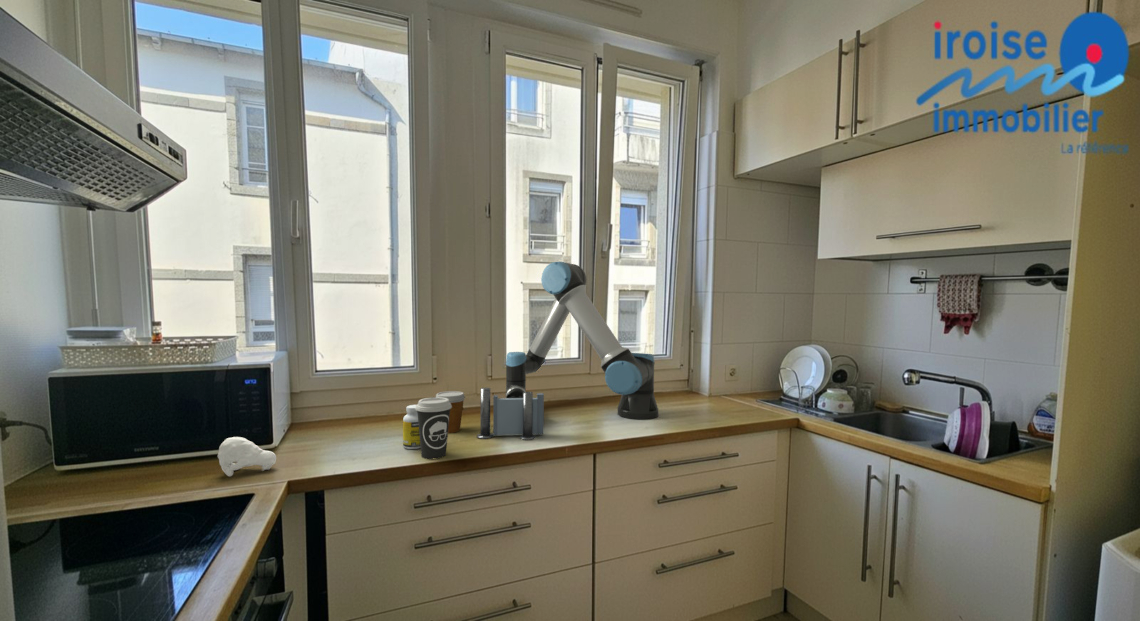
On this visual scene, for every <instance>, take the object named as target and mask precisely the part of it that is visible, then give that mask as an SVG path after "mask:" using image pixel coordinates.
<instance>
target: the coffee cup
mask: <svg viewBox="0 0 1140 621" xmlns="http://www.w3.org/2000/svg"><path fill="white" fill-rule="evenodd" d="M415 405H416V408H415V410H417V413H418V424H419V435H420V446H421V448H420V455H421V458H423V459H426V458H427V459H426V460H434V459H433V458H436V459H440V457H441V458H443V457H445V456H446V455H447V447H448V436H449V433H448V426H449V415H450V409H451V408H452V405H451V403H450V402H449V399H447V398H442V397H436V396H434V397H425V398H421V399H419V400H418V402H417V404H415ZM442 456H443V457H442Z"/></svg>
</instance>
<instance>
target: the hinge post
mask: <svg viewBox="0 0 1140 621" xmlns="http://www.w3.org/2000/svg"><path fill="white" fill-rule="evenodd" d="M479 412H480V415H479V416H480V417H479V418H480V431H479V432H480V433H477V434H476V438H478V439H479V438H480V439H479V440H488V439H487V438H490V439H493V438H494V437H495V435H493V432H492V433H491V387H481V388H480V411H479ZM492 437H493V438H492Z"/></svg>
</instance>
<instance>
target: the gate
mask: <svg viewBox="0 0 1140 621" xmlns="http://www.w3.org/2000/svg"><path fill="white" fill-rule="evenodd" d="M492 399H493V402H492V403H493V404H492V405H493V406H492V408H493V409H492V412H493V414H492V415H493V416H492V417H493V418H492V419H493V420H492V421H493V426H492V427H493V432H492V433H493V435H494V436H515V435H517V436H521V435H523V398H506V397H505V398H504V397H503V398H502V397H501V398H499V396H498V394H494V395H493V398H492ZM544 400H545V396H544V393H543V392H540V393H539V392H538V393H536V397H533V435H544V430H545V429H544V428H545V426H544V421H545V420H544V419H545V418H544V416H545V414H544V413H545V412H544V410H545V409H544V408H545V406H544V404H545V403H544V402H545V401H544Z"/></svg>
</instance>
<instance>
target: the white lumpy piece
mask: <svg viewBox="0 0 1140 621" xmlns="http://www.w3.org/2000/svg"><path fill="white" fill-rule="evenodd" d="M217 459H218V461H219V466H220V468H221V470H222V471H223V472H224V474H225V475H226V476H227V477H229V478H230V477H232V476H233V475H234V471H237V470H238V471H239V470H240V469H243V468H244V467H251V466H260V467H261V472H263V471H265V470H270V469H271V468H272V467H273V465H274V464H275V463H276V462H277V455H276V454H275V453H274V452H273V451H271V450H265V449H262V448H260V447H259V445H256V444H255V443H254V442H253V441H250V440H248V439H247V438H245V437H241V436H233V437H228V438H225V439H224V441H222V443H221V444H220V445H219V448H218V453H217Z"/></svg>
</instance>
